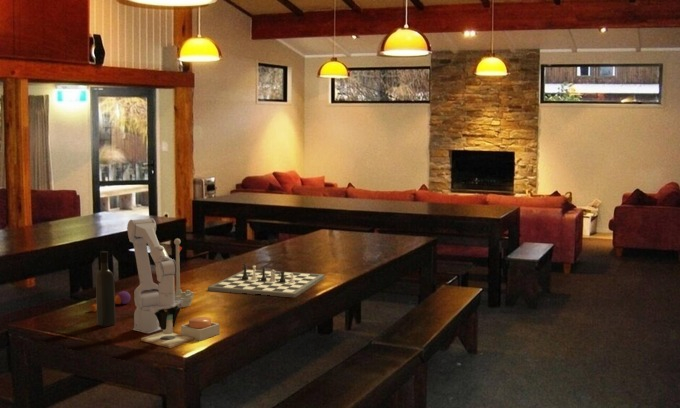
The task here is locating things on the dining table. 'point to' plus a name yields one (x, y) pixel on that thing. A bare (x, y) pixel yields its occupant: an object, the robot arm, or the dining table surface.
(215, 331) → the open square beige box
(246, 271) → the chess set
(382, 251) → the dining table surface
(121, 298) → the kendama
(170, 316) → the jar with green lid
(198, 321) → the orange dome
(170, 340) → the board
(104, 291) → the wine bottle
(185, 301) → the flag stand
